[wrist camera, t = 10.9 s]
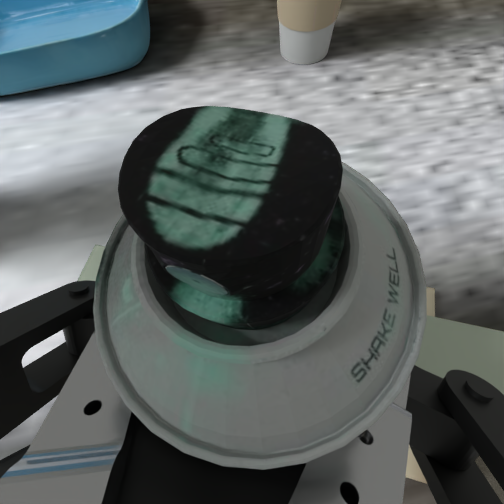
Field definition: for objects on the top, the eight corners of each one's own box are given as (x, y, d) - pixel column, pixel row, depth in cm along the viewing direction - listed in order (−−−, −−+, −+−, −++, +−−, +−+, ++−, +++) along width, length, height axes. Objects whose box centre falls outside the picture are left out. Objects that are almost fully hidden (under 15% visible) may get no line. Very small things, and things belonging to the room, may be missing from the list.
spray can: (244, 381, 19) (-490, 1063, 1) (230, 310, 21) (-58, 33, 3) (313, 363, 19) (1197, 598, 1) (292, 294, 21) (411, -78, 3)
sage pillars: (129, 329, 23) (58, 318, 15) (149, 277, 24) (95, 244, 17) (428, 409, 19) (530, 448, 11) (428, 340, 20) (516, 334, 13)
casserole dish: (169, -5, 46) (151, -65, 39) (180, 73, 38) (159, 14, 31) (-27, 38, 46) (-78, -14, 40) (-60, 126, 38) (-131, 78, 31)
